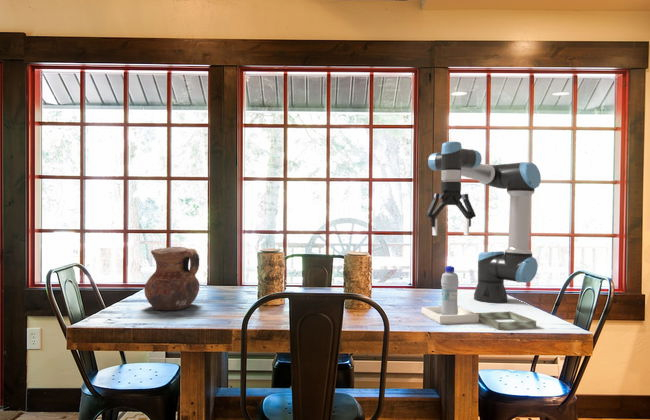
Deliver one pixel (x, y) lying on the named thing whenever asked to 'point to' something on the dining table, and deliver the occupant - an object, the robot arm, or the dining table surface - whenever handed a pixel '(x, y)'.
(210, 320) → the dining table surface
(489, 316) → the rim
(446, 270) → the bottle
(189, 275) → the jug
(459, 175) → the robot arm
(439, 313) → the cream dish
